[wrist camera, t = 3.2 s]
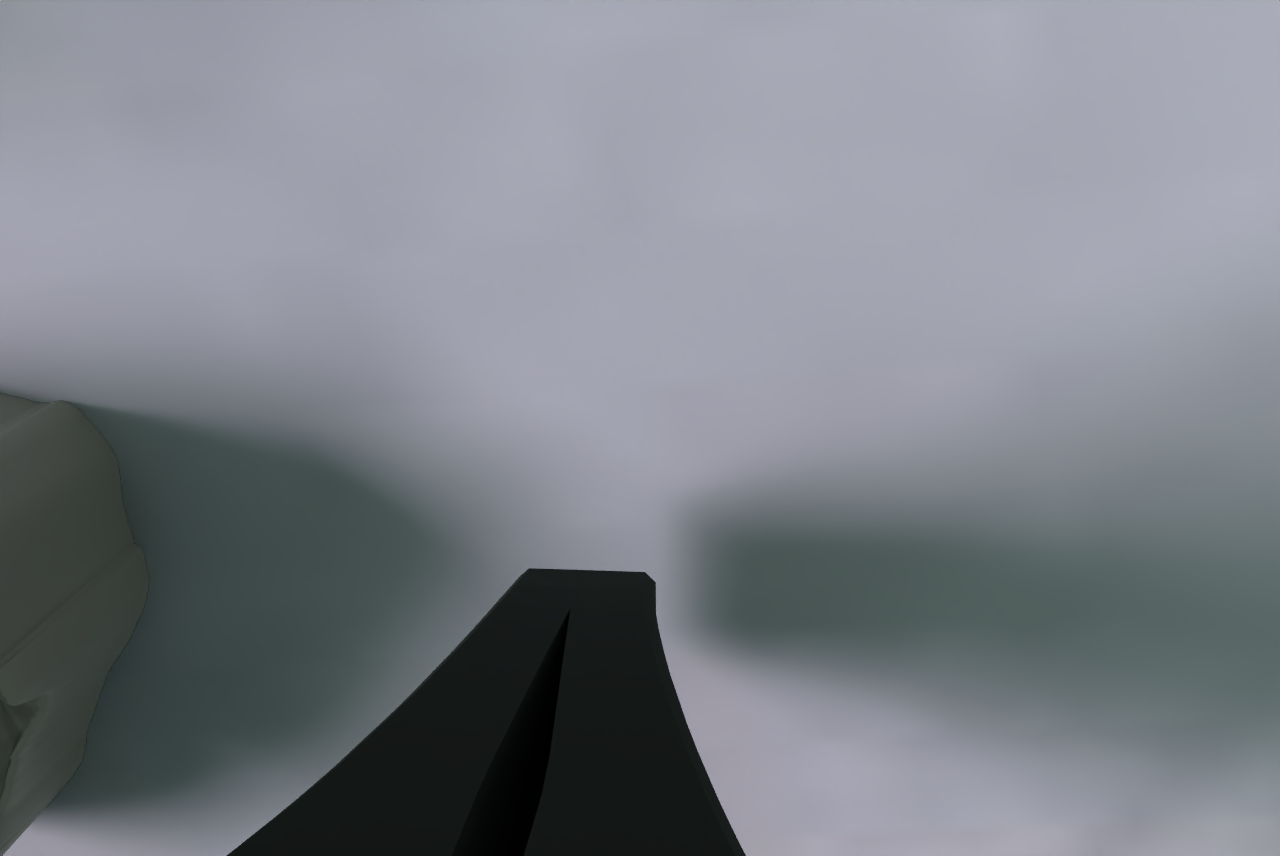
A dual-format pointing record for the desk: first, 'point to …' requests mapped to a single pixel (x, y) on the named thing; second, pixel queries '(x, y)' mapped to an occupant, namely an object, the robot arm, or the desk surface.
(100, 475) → the dental mold
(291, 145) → the desk surface
